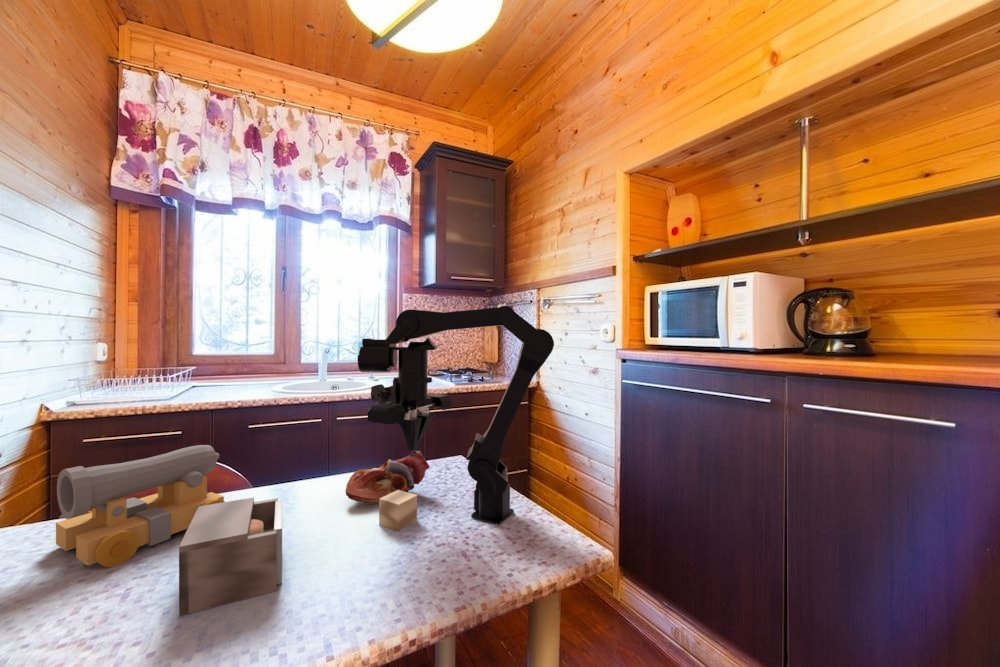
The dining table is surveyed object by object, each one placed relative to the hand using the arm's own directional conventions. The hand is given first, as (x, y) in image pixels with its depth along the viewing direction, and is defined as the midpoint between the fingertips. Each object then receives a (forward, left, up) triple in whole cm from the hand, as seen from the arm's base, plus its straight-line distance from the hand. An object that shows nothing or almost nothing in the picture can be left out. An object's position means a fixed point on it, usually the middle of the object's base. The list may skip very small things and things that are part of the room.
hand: (412, 450), depth 81 cm
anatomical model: (+10, -3, -13) cm, 17 cm away
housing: (+9, +29, -13) cm, 33 cm away
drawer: (+8, +28, -13) cm, 32 cm away
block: (0, +4, -13) cm, 14 cm away
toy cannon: (+36, +29, -13) cm, 48 cm away
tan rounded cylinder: (+8, +28, -12) cm, 32 cm away
